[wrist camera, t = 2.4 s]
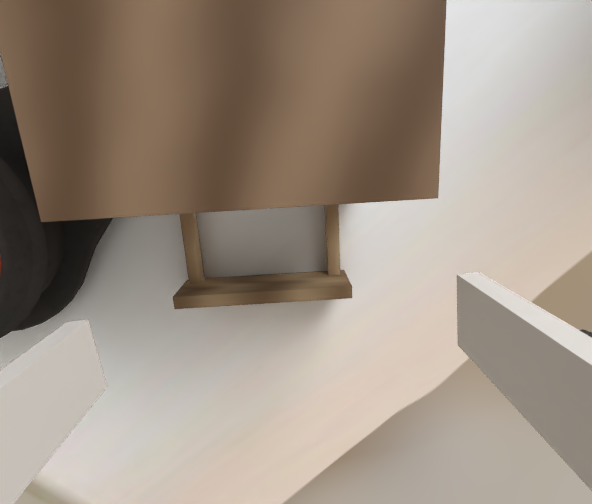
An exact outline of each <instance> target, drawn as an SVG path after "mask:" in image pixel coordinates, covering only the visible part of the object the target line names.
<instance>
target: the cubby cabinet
mask: <svg viewBox="0 0 592 504" xmlns="http://www.w3.org/2000/svg"><path fill="white" fill-rule="evenodd" d="M445 21H446V0H0V53H1V57H2V61H3V65H4V69H5V73H6V78H7V82H8V86H9V90H10V94H11V98H12V103H13V107H14V111H15V115H16V119H17V123H18V128H19V132H20V136H21V140H22V144H23V148H24V153H25V157H26V161H27V165H28V169H29V173H30V178H31V182H32V186H33V190H34V194H35V198H36V203H37V207H38V211H39V215H40V219H41V222H52V221H69V220H85V219H102V218H118V217H135V216H151V215H168V214H184V213H201V212H217V211H234V210H250V209H267V208H283V207H300V206H316V205H333V204H349V203H366V202H383V201H399V200H416V199H432V198H438V188H439V164H440V140H441V116H442V92H443V69H444V45H445Z"/></svg>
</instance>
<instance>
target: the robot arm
mask: <svg viewBox="0 0 592 504" xmlns="http://www.w3.org/2000/svg"><path fill="white" fill-rule="evenodd" d="M457 334H458V346H459V347H460V348H461V349H462V350H463V351H464V352H465V353H466V355H467V356H468V357H469V358H470V359H471V360H472V361H473V362H474V363H475V364H476V365H477V367H478V368H479V369H480V370H481V371H482V372H483V373H484V374H485V375H486V376H487V377H488V378H489V380H490V381H491V382H492V383H493V384H494V385H495V386H496V387H497V388H498V389H499V390H500V391H501V393H502V394H503V395H504V396H505V397H506V398H507V399H508V400H509V401H510V402H511V404H512V405H513V406H514V407H515V408H516V409H517V410H518V411H519V412H520V413H521V414H522V415H523V417H524V418H525V419H526V420H527V421H528V422H529V423H530V424H531V425H532V426H533V427H534V429H535V430H536V431H537V432H538V433H539V434H540V435H541V436H542V437H543V438H544V439H545V441H546V442H547V443H548V444H549V445H550V446H551V447H552V448H553V449H554V450H555V451H556V453H557V454H558V455H559V456H560V457H561V458H562V459H563V460H564V461H565V462H566V463H567V465H568V466H569V467H570V468H571V469H572V470H573V471H574V472H575V473H576V474H577V475H578V476H579V478H580V479H581V480H582V481H583V482H584V483H585V484H586V485H587V486H588V487H589V488H590V490H591V491H592V333H591V332H588V331H586V330H578V329H576V328H574V327H572V326H571V325H569V324H567V323H566V322H564V321H562V320H561V319H559V318H557V317H556V316H554V315H552V314H550V313H549V312H547V311H545V310H544V309H542V308H540V307H538V306H537V305H535V304H533V303H531V302H530V301H528V300H526V299H525V298H523V297H521V296H519V295H518V294H516V293H514V292H513V291H511V290H509V289H507V288H506V287H504V286H502V285H501V284H499V283H497V282H495V281H494V280H492V279H490V278H489V277H487V276H485V275H483V274H482V273H480V272H472V273H463V274H457ZM106 388H107V384H106V380H105V377H104V373H103V370H102V366H101V363H100V359H99V356H98V352H97V349H96V345H95V342H94V338H93V335H92V331H91V328H90V324H89V321H88V319H87V320H79V321H71V322H66V323H65V324H63V325H62V326H61V327H59V328H58V329H56V330H55V331H54V332H52V333H51V334H50V335H48V336H47V337H45V338H44V339H43V340H41V341H40V342H38V343H37V344H36V345H34V346H33V347H32V348H30V349H29V350H27V351H26V352H25V353H23V354H22V355H20V356H19V357H18V358H16V359H15V360H14V361H12V362H11V363H9V364H8V365H7V366H5V367H4V368H3V369H1V370H0V504H14V503H15V501H16V500H17V499H18V498H19V496H20V495H21V494H22V493H23V491H24V490H25V489H26V488H27V486H28V485H29V484H30V483H31V481H32V480H33V479H34V478H35V476H36V475H37V474H38V473H39V471H40V470H41V469H42V468H43V466H44V465H45V464H46V463H47V462H48V460H49V459H50V458H51V457H52V455H53V454H54V453H55V452H56V450H57V449H58V448H59V447H60V445H61V444H62V443H63V442H64V440H65V439H66V438H67V437H68V435H69V434H70V433H71V432H72V430H73V429H74V428H75V427H76V425H77V424H78V423H79V422H80V420H81V419H82V418H83V417H84V415H85V414H86V413H87V412H88V411H89V409H90V408H91V407H92V406H93V404H94V403H95V402H96V401H97V399H98V398H99V397H100V396H101V394H102V393H103V392H104V391H105V389H106Z"/></svg>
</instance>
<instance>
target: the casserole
mask: <svg viewBox="0 0 592 504" xmlns="http://www.w3.org/2000/svg"><path fill="white" fill-rule="evenodd" d="M112 219H113V218H102V219H85V220H69V221H52V222H41V219H40V215H39V211H38V207H37V203H36V198H35V194H34V190H33V186H32V182H31V178H30V173H29V169H28V165H27V161H26V157H25V153H24V148H23V144H22V140H21V136H20V132H19V128H18V123H17V119H16V115H15V111H14V107H13V103H12V98H11V94H10V90H9V86H7V87H4V88H2V89H0V338H1V337H3V336H4V335H6V334H8V333H9V332H11V331H16V330H23V329H26V328H29V327H32V326H35V325H38V324H41V323H43V322H45V321H46V320H48V319H50V318H51V317H53V316H55V315H56V314H58V313H59V312H60V311H61V310H62V309H63V308H64V307H65V306H67V305H68V304H69V303H70V302H71V301H72V300H73V298H74V297H75V295H76V294H77V292H78V290H79V289H80V287H81V286H82V284H83V282H84V279H85V276H86V273H87V271H88V268H89V265H90V262H91V259H92V256H93V253H94V250H95V247H96V245H97V244H98V242H99V240H100V239H101V237H102V235H103V234H104V232H105V230H106V229H107V227H108V225H109V224H110V222H111V220H112Z"/></svg>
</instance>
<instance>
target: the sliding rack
mask: <svg viewBox="0 0 592 504" xmlns="http://www.w3.org/2000/svg"><path fill="white" fill-rule="evenodd" d="M180 220H181V227H182V234H183V241H184V248H185V255H186V262H187V270H188V277H189V280H187V281H186V282H185V283H184V284H183V286H182V287H181V288H180V289H179V290H178V292H177V293H176V294H175V295H174V296H173V301H174V308H175V309H183V308H199V307H215V306H231V305H248V304H264V303H280V302H296V301H312V300H328V299H344V298H352V285H351V283H350V281H349V279H348V277H347V275H346V273H345V271H344V270H340V253H339V218H338V204H333V205H325V229H326V255H327V271H319V272H303V273H287V274H270V275H254V276H238V277H222V278H205V279H204V273H203V265H202V257H201V249H200V242H199V234H198V226H197V218H196V213H184V214H180Z"/></svg>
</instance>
